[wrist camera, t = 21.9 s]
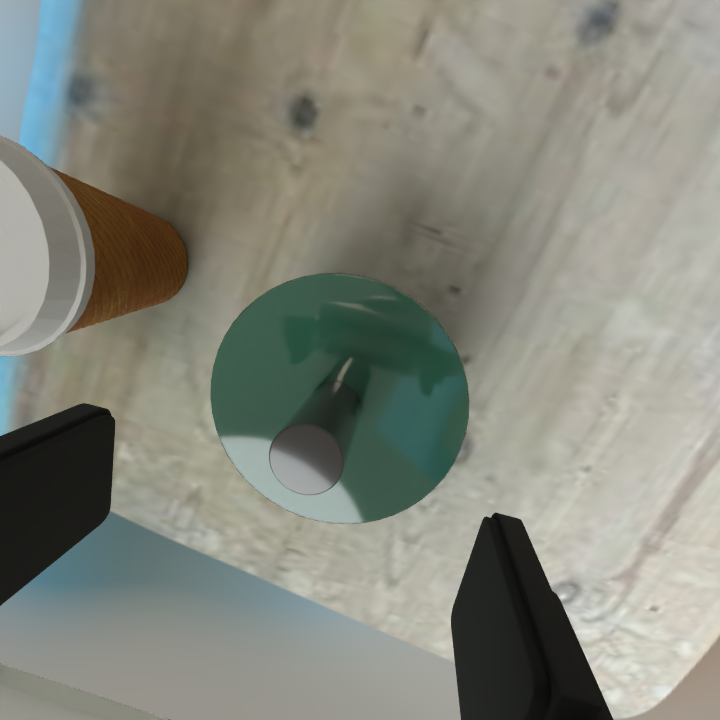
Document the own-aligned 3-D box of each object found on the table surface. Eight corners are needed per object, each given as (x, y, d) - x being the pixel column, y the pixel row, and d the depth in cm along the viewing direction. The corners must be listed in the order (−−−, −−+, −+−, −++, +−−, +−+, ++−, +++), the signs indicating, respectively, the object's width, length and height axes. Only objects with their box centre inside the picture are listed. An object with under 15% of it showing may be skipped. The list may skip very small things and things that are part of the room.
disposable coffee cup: (135, 350, 29) (-48, 399, 17) (58, 236, 28) (-194, 206, 16) (236, 283, 27) (106, 289, 15) (157, 158, 26) (-47, 60, 14)
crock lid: (440, 245, 17) (460, 226, 11) (484, 493, 20) (523, 600, 13) (191, 304, 19) (82, 318, 13) (257, 524, 22) (193, 631, 15)
